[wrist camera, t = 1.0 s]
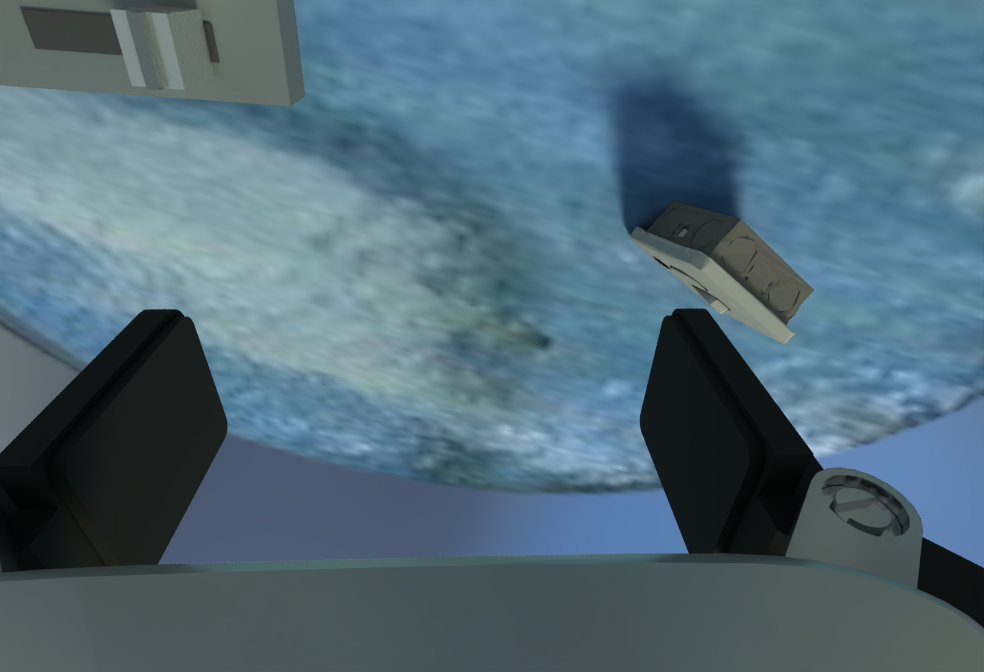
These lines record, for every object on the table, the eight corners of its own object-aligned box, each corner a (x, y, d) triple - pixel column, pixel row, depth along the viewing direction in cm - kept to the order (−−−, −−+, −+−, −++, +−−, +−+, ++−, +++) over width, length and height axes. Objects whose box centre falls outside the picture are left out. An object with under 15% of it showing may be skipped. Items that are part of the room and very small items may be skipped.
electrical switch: (623, 232, 38) (672, 288, 30) (676, 175, 36) (743, 217, 28) (704, 300, 42) (767, 366, 34) (757, 251, 40) (835, 308, 32)
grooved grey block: (149, 4, 27) (103, 9, 23) (199, 8, 27) (161, 14, 24) (166, 74, 29) (126, 87, 25) (214, 77, 29) (179, 91, 25)
